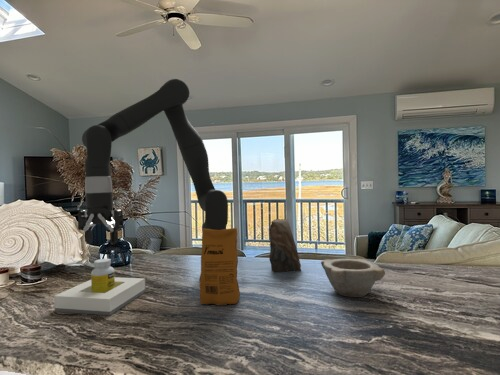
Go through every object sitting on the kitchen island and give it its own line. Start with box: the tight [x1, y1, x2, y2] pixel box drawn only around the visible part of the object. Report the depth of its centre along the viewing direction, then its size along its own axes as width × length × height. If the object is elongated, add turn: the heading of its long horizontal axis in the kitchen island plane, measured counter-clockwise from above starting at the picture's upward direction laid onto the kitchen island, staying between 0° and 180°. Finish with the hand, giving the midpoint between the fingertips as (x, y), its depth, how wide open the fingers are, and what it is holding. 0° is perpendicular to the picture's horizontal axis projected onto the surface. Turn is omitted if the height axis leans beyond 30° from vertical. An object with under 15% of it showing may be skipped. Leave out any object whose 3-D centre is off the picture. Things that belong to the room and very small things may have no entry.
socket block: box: [53, 276, 146, 316], centre depth 94 cm, size 18×18×5 cm
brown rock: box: [268, 217, 302, 274], centre depth 125 cm, size 13×13×20 cm
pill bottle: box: [90, 258, 115, 293], centre depth 94 cm, size 6×6×12 cm
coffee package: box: [199, 227, 241, 306], centre depth 92 cm, size 10×12×22 cm
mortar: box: [320, 258, 386, 298], centre depth 96 cm, size 17×17×9 cm
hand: (101, 243), depth 93 cm, fingers open, 8 cm apart
